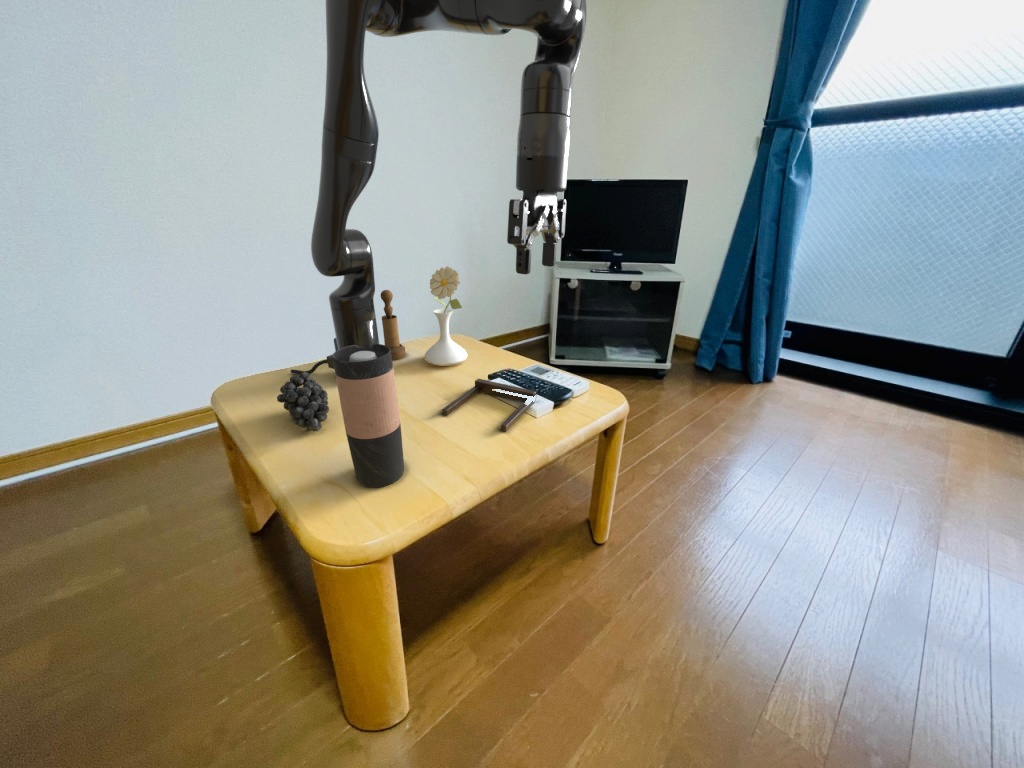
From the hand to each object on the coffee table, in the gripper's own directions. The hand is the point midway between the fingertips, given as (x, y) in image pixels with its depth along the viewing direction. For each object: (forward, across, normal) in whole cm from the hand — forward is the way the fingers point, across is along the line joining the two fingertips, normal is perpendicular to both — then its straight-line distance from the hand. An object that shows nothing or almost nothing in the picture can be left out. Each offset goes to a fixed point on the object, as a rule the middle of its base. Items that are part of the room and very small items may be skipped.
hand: (536, 269), depth 64 cm
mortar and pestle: (+31, -10, -49) cm, 59 cm away
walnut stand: (+29, 0, -9) cm, 30 cm away
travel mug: (+29, +27, -11) cm, 41 cm away
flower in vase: (+30, -15, -33) cm, 47 cm away
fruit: (+30, +24, -35) cm, 52 cm away
